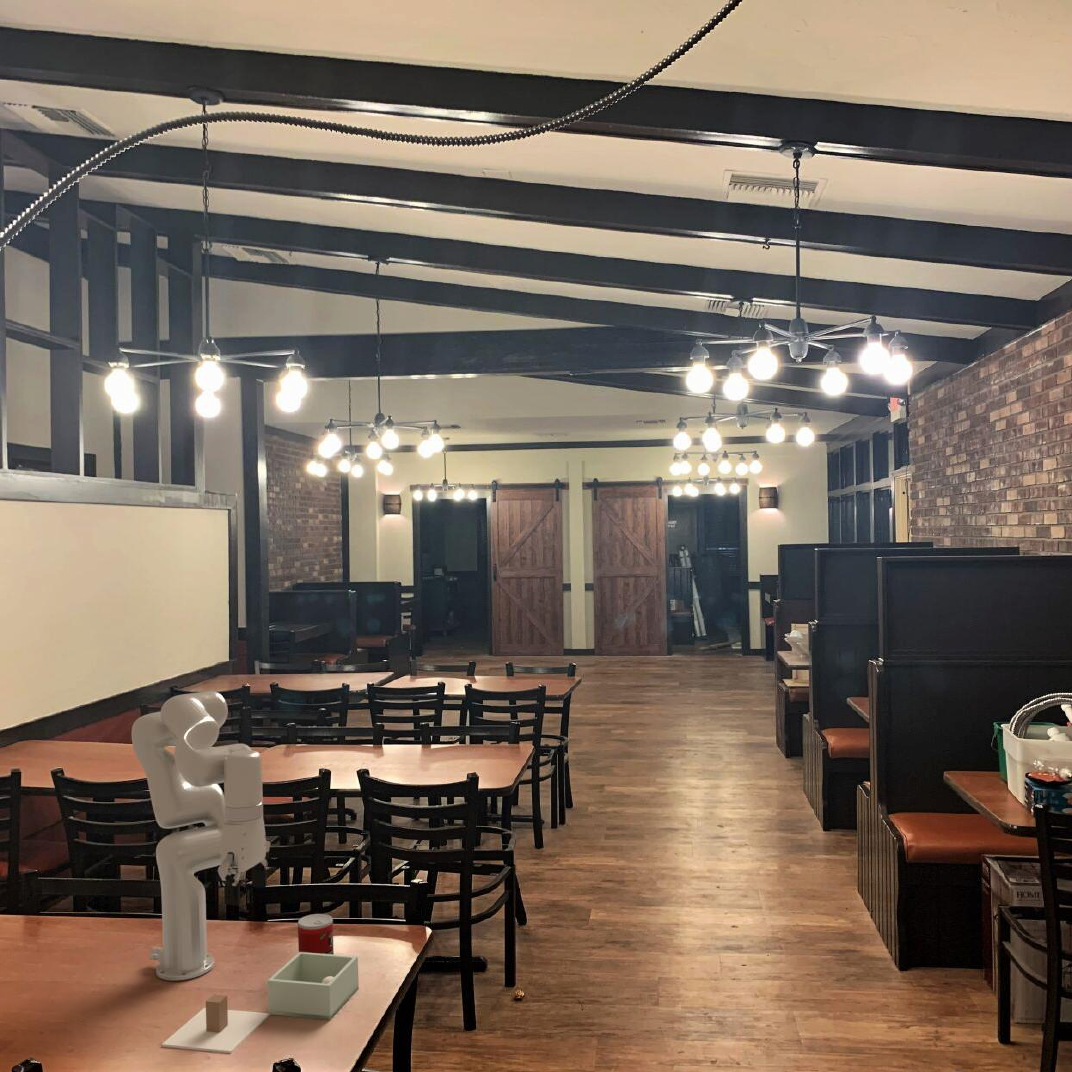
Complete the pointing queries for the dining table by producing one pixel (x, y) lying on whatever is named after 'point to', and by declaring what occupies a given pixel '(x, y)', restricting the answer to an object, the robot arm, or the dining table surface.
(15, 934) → the dining table surface
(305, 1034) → the dining table surface
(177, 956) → the robot arm
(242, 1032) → the lid
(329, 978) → the ball cream
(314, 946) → the canned food
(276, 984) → the box
